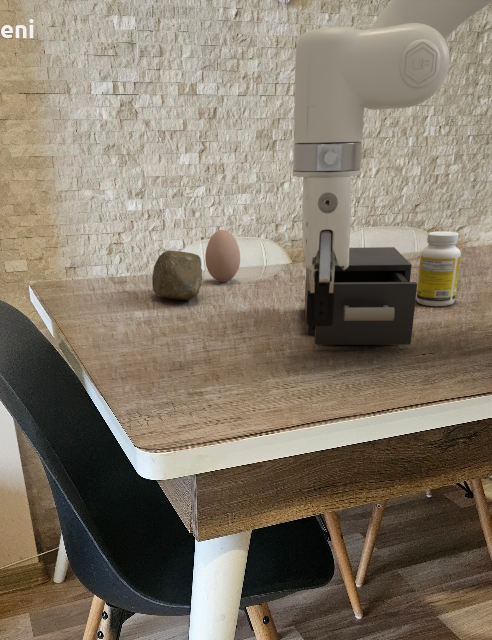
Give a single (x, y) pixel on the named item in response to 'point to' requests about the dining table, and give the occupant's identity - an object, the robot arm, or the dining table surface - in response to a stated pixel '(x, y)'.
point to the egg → (222, 256)
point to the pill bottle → (439, 269)
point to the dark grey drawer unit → (368, 266)
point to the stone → (177, 275)
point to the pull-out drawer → (370, 309)
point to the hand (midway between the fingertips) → (319, 324)
